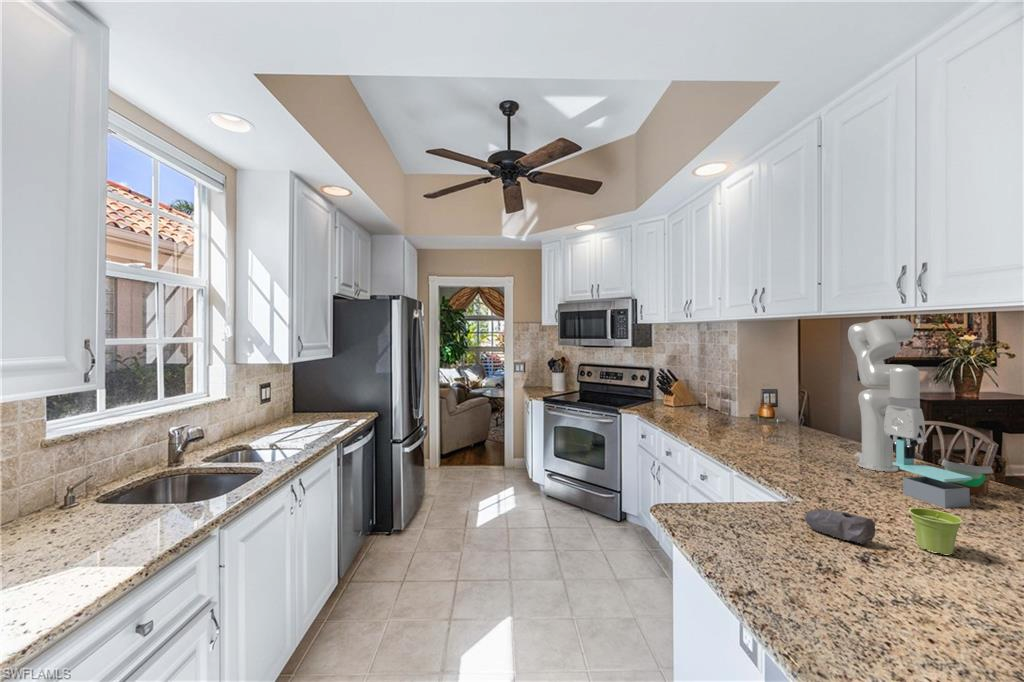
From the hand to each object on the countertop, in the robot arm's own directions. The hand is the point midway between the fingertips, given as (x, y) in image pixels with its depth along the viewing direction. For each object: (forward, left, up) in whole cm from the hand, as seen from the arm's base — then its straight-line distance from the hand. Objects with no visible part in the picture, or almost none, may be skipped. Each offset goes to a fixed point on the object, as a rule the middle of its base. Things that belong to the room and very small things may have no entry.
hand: (904, 456), depth 144 cm
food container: (+4, +18, -12) cm, 22 cm away
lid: (+7, 0, -3) cm, 7 cm away
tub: (+9, 0, -12) cm, 15 cm away
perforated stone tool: (+25, -52, -12) cm, 59 cm away
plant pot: (+35, -35, -12) cm, 51 cm away
